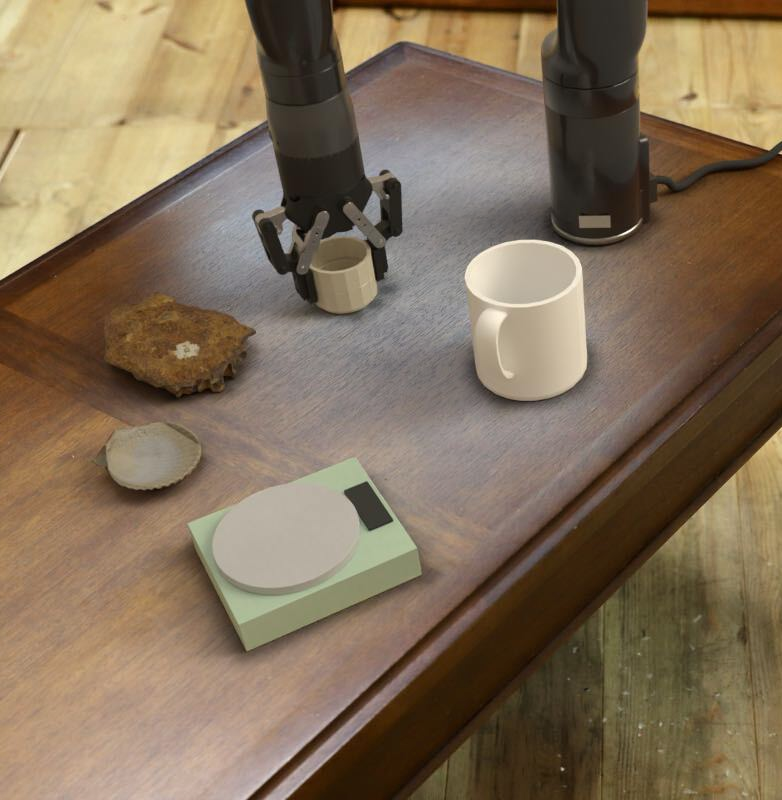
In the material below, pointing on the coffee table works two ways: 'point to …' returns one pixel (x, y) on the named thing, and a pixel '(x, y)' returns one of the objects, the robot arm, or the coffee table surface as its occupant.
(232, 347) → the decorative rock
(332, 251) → the beige faceted cup
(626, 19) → the robot arm
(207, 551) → the kitchen scale
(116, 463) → the seashell
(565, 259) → the mug
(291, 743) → the coffee table surface
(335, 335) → the coffee table surface
